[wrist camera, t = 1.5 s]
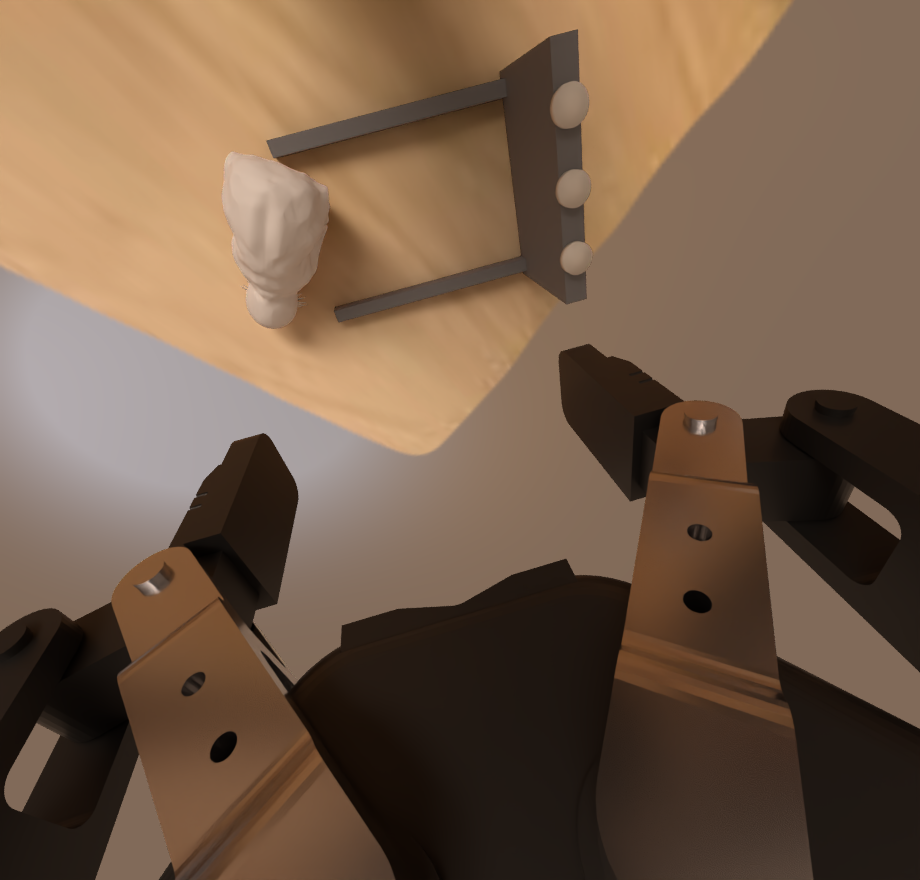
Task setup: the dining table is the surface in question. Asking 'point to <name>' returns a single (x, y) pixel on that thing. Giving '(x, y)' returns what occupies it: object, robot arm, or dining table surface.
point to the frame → (532, 166)
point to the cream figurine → (273, 232)
